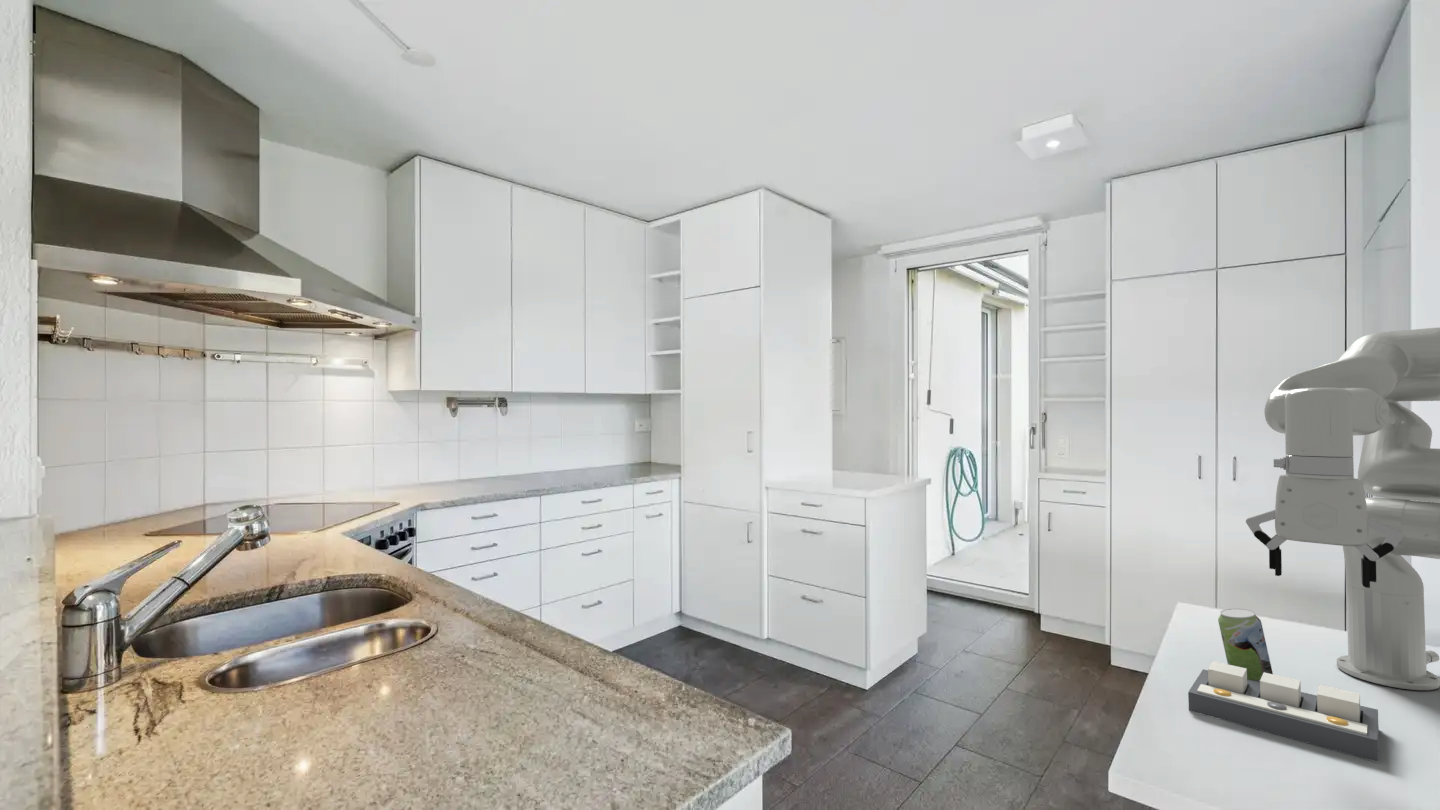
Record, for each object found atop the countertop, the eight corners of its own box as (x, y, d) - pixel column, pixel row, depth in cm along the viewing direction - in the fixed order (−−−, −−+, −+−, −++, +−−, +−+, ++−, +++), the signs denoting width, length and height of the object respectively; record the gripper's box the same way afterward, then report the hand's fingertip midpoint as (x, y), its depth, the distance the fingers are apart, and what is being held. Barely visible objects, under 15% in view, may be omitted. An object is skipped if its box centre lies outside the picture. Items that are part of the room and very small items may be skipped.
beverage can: (1281, 687, 107) (1279, 618, 107) (1233, 684, 109) (1231, 616, 109) (1258, 672, 114) (1256, 606, 114) (1212, 669, 115) (1210, 605, 115)
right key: (1319, 704, 96) (1319, 684, 96) (1360, 713, 93) (1359, 693, 93) (1317, 714, 93) (1317, 694, 93) (1359, 724, 90) (1359, 703, 90)
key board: (1203, 686, 108) (1202, 666, 109) (1378, 729, 93) (1377, 706, 93) (1188, 710, 100) (1188, 688, 100) (1378, 762, 85) (1377, 736, 85)
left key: (1213, 678, 106) (1213, 661, 106) (1247, 686, 102) (1246, 668, 102) (1208, 687, 103) (1208, 668, 103) (1243, 695, 99) (1242, 676, 99)
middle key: (1264, 690, 101) (1263, 672, 101) (1301, 699, 98) (1300, 680, 98) (1260, 699, 98) (1259, 680, 98) (1298, 709, 95) (1297, 689, 95)
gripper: (1243, 466, 99) (1245, 574, 98) (1405, 473, 87) (1407, 596, 86) (1246, 464, 104) (1248, 566, 104) (1399, 470, 92) (1401, 586, 92)
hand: (1320, 580), depth 95 cm, fingers open, 9 cm apart
